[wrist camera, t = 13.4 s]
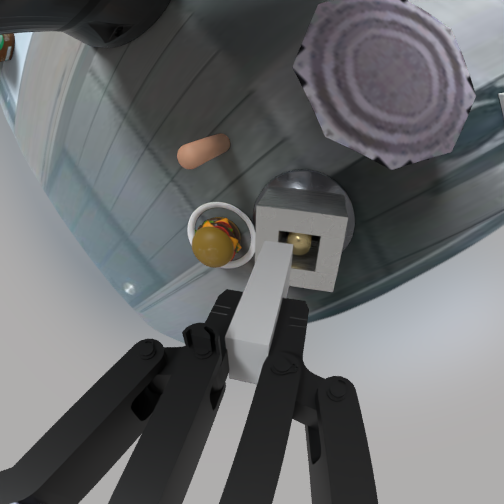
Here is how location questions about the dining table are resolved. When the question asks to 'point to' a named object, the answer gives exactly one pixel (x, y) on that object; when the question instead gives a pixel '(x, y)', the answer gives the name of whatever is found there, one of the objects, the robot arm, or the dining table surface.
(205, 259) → the hamburger
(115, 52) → the dining table surface
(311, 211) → the collar
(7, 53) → the food container
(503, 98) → the milk
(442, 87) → the can
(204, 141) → the sausage
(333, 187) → the hub
